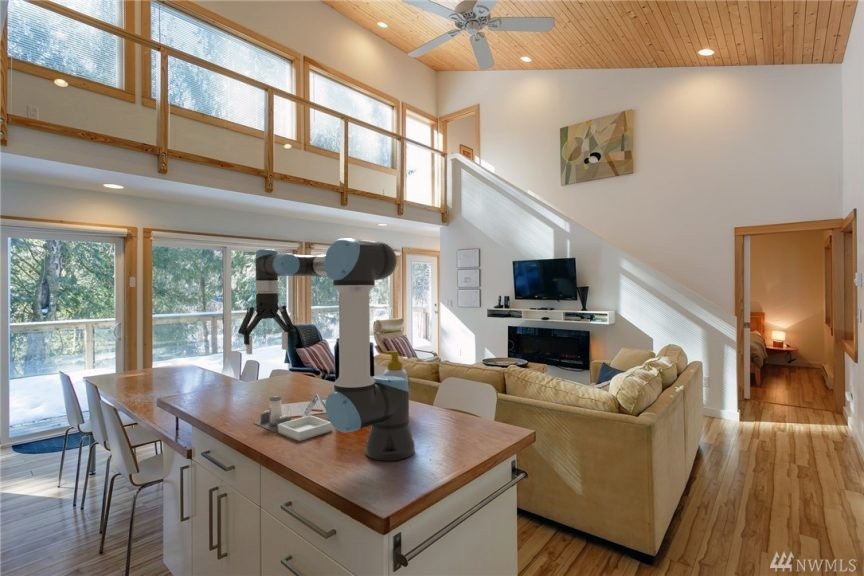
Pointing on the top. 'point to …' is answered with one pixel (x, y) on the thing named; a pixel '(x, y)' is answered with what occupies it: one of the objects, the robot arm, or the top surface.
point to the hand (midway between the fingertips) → (267, 351)
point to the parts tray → (304, 428)
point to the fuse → (274, 409)
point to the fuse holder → (266, 418)
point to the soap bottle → (394, 366)
